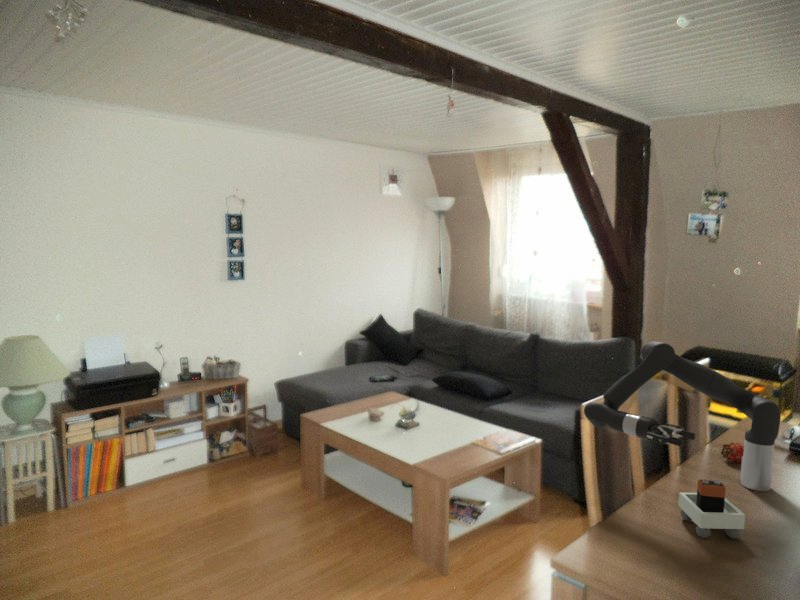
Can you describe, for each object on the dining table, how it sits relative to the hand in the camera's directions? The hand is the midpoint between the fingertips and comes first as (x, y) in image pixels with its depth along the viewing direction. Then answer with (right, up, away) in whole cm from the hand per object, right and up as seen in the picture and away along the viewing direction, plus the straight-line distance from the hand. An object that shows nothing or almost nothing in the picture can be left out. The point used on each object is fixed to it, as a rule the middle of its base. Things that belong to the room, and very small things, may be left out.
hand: (688, 439), depth 177 cm
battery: (+5, -21, -4) cm, 22 cm away
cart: (+5, -27, -3) cm, 28 cm away
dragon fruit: (+44, -21, +50) cm, 70 cm away
